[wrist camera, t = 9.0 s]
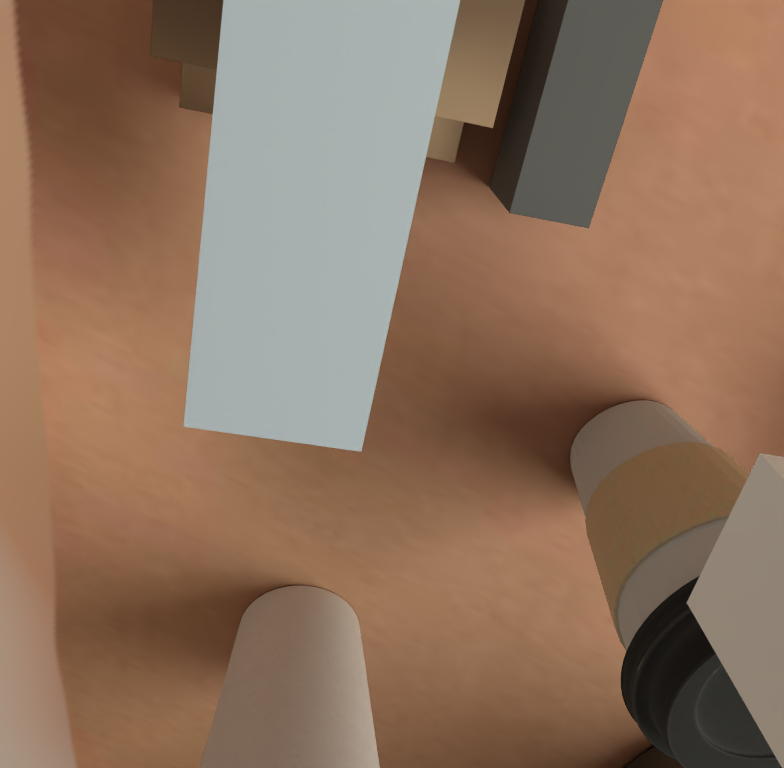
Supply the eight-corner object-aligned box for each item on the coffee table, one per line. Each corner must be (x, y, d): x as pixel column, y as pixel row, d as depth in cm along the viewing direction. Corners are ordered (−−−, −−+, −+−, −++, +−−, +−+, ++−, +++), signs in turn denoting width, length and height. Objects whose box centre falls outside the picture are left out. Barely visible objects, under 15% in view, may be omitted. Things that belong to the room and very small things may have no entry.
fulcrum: (447, 152, 29) (475, 194, 23) (189, 100, 28) (146, 129, 22) (501, -81, 26) (551, -106, 20) (209, -155, 25) (164, -206, 18)
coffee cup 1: (401, 570, 39) (433, 866, 26) (373, 698, 43) (387, 1008, 30) (215, 553, 38) (148, 855, 25) (205, 686, 42) (142, 1005, 29)
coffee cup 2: (625, 556, 40) (769, 839, 26) (492, 469, 36) (579, 739, 23) (764, 431, 36) (1007, 680, 23) (631, 325, 33) (824, 541, 20)
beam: (357, 374, 26) (361, 451, 21) (211, 350, 25) (183, 426, 21) (541, -520, 16) (617, -716, 12) (313, -599, 16) (302, -839, 11)
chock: (560, 201, 31) (588, 228, 27) (489, 187, 30) (509, 212, 27) (645, -79, 26) (692, -91, 23) (564, -100, 26) (600, -116, 22)
